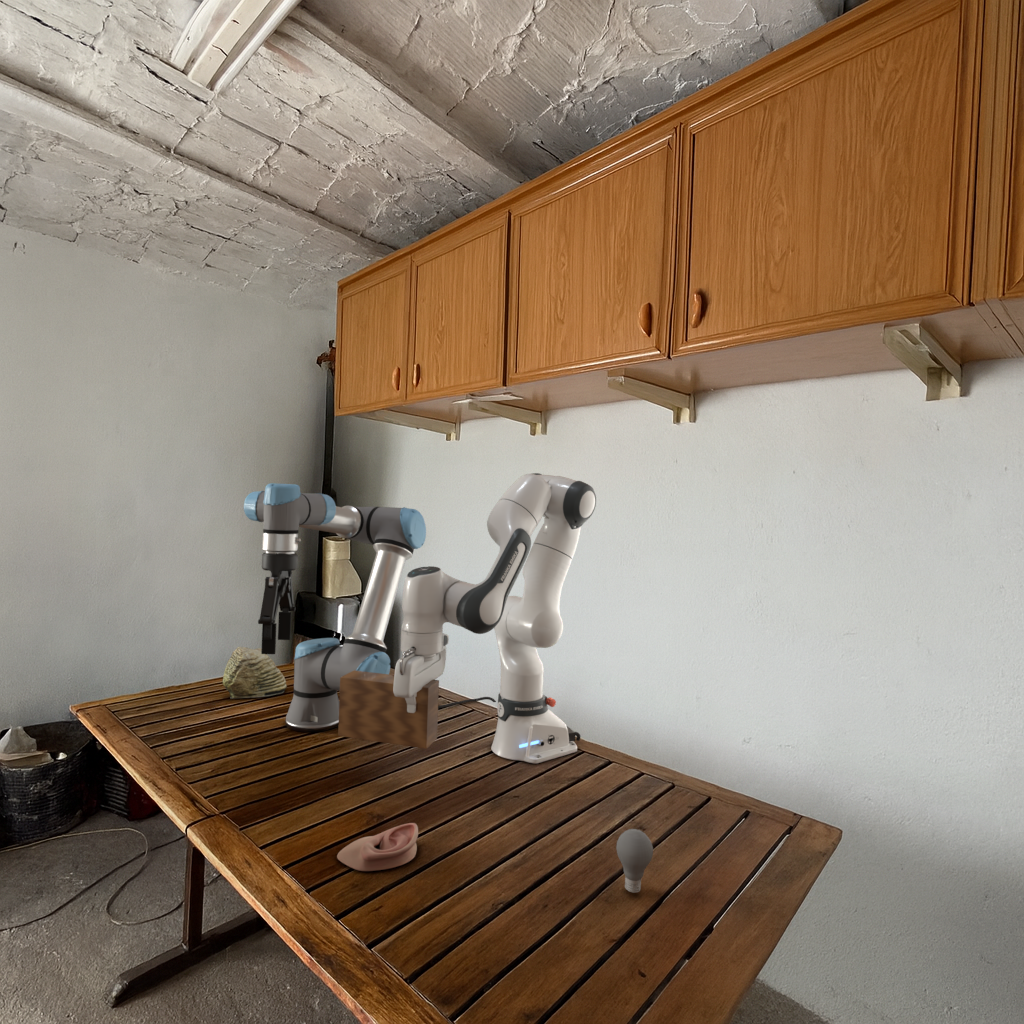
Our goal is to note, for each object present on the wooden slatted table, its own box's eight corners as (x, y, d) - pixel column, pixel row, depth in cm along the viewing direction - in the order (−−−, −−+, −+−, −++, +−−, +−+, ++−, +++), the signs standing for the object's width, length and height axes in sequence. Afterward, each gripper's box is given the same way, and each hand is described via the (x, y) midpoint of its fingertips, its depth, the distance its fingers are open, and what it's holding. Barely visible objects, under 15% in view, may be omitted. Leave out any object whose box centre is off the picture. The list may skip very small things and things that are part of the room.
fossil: (218, 695, 195) (220, 647, 195) (278, 685, 208) (279, 640, 207) (228, 703, 189) (230, 653, 188) (289, 692, 201) (290, 645, 201)
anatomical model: (329, 843, 109) (358, 811, 120) (328, 865, 109) (357, 832, 120) (402, 855, 106) (425, 821, 117) (401, 878, 106) (424, 842, 117)
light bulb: (610, 879, 108) (613, 822, 108) (644, 879, 109) (647, 822, 109) (619, 902, 102) (622, 840, 102) (655, 901, 103) (658, 840, 103)
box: (338, 736, 138) (339, 677, 138) (352, 726, 144) (353, 670, 144) (426, 748, 133) (428, 688, 133) (437, 738, 139) (439, 680, 139)
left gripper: (283, 558, 130) (279, 660, 130) (308, 548, 155) (305, 634, 155) (245, 556, 129) (241, 660, 130) (277, 547, 154) (274, 634, 154)
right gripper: (415, 655, 125) (413, 724, 126) (451, 634, 145) (449, 694, 146) (386, 652, 127) (384, 720, 127) (426, 632, 147) (423, 691, 147)
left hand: (276, 646), depth 142 cm, fingers open, 13 cm apart
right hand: (419, 706), depth 137 cm, fingers closed on box, 6 cm apart
